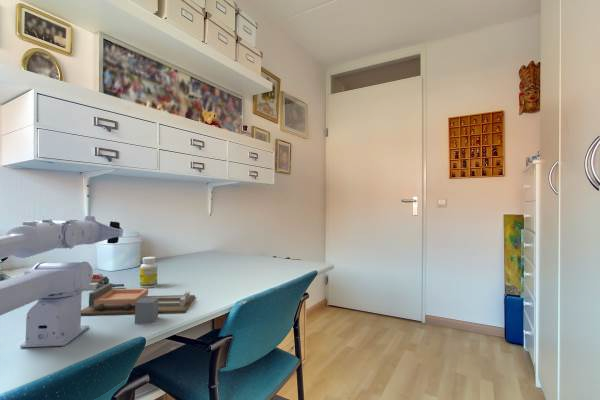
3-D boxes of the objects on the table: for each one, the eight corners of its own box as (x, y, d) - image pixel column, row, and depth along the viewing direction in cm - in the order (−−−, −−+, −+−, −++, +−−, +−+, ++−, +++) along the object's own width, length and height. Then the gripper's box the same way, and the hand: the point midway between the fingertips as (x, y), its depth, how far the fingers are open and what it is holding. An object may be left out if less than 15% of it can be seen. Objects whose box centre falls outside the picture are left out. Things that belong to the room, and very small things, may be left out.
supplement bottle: (139, 284, 107) (140, 256, 107) (157, 283, 109) (158, 255, 109) (139, 288, 102) (140, 259, 102) (157, 287, 104) (157, 258, 104)
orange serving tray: (133, 309, 80) (134, 293, 80) (86, 310, 78) (87, 294, 78) (148, 296, 91) (149, 282, 91) (108, 297, 90) (108, 282, 90)
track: (184, 312, 80) (185, 302, 80) (76, 315, 77) (76, 305, 77) (194, 296, 94) (195, 288, 94) (103, 298, 90) (103, 290, 90)
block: (152, 323, 73) (153, 302, 73) (134, 324, 73) (135, 302, 73) (157, 317, 77) (158, 297, 77) (140, 317, 76) (141, 297, 77)
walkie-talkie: (53, 292, 97) (122, 290, 101) (53, 278, 97) (123, 277, 101) (67, 285, 105) (131, 283, 109) (68, 272, 105) (131, 271, 110)
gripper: (114, 217, 73) (134, 217, 87) (45, 214, 71) (77, 215, 84) (111, 246, 73) (132, 242, 86) (42, 244, 70) (74, 241, 83)
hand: (104, 230), depth 85 cm, fingers open, 7 cm apart
